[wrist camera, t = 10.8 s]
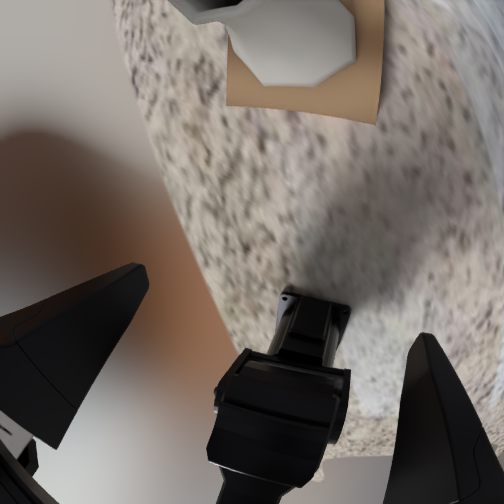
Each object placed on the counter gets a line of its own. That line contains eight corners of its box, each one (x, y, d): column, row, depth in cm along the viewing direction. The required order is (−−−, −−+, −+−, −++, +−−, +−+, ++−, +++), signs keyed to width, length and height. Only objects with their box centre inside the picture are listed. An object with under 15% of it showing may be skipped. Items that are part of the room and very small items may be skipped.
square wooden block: (372, 120, 16) (375, 125, 13) (243, 103, 18) (226, 105, 16) (380, 1, 11) (384, -13, 8) (248, -7, 13) (231, -20, 11)
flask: (216, 7, 12) (92, -32, 4) (329, -30, 9) (296, -132, 1) (256, 104, 15) (151, 135, 7) (376, 75, 12) (421, 54, 4)
